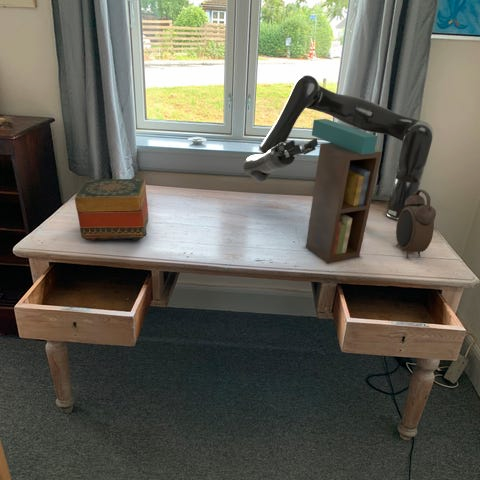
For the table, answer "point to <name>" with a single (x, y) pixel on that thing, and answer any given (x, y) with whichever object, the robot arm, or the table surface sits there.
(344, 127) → the pencil box
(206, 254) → the table surface
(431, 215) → the alarm clock
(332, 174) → the bookcase
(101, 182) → the decorative box
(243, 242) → the table surface
